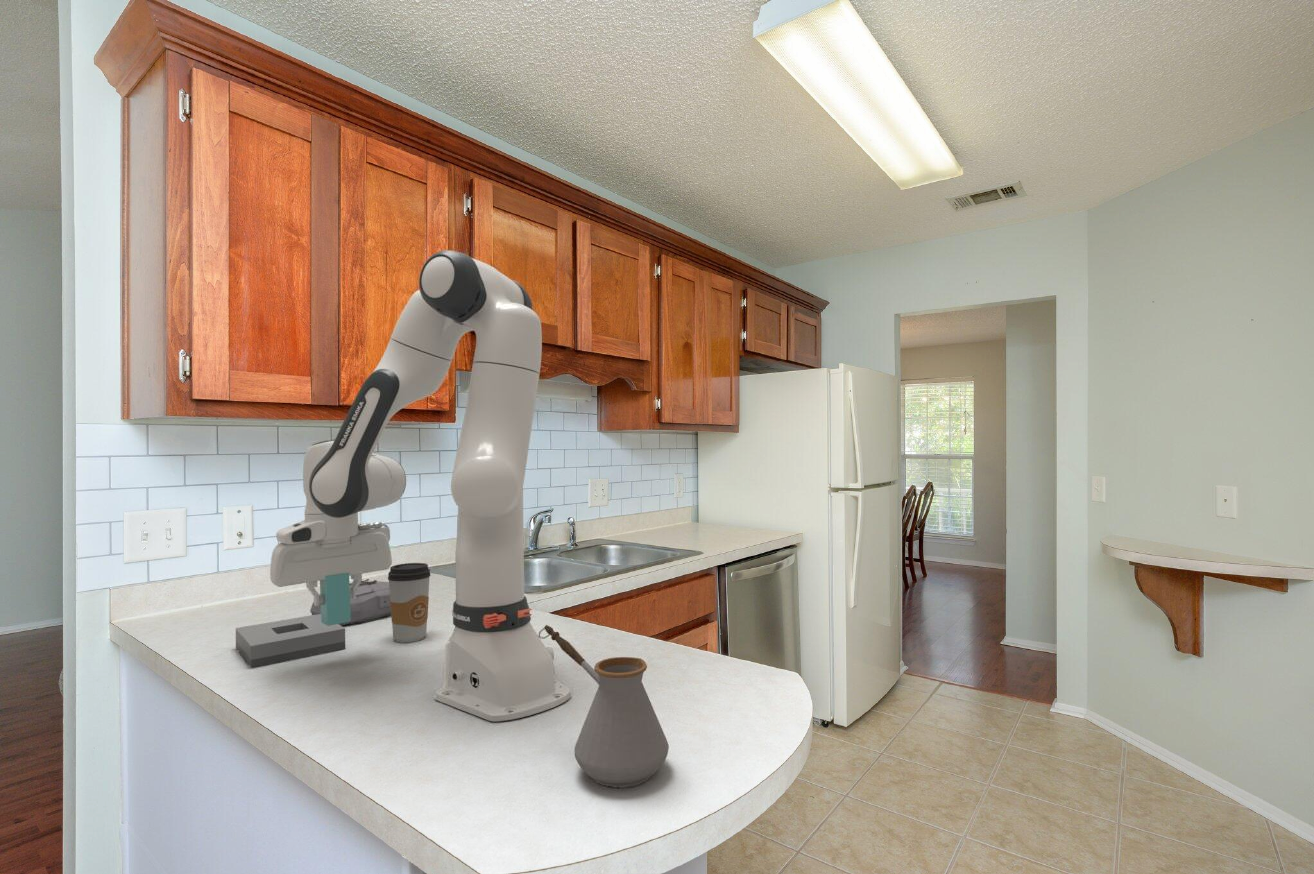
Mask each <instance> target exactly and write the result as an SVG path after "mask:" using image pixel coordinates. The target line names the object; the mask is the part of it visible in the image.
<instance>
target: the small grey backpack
mask: <svg viewBox="0 0 1314 874" xmlns="http://www.w3.org/2000/svg"><path fill="white" fill-rule="evenodd" d="M349 583H350V587H351V585H352V583H353V582H349ZM350 607H351V621H350V622H345V623H340V624H339V625H341V626H348V625H355V624H362V623H366V622H370V621H374V620H378V619H382V618H385V617H388V616H391V607H390V588H389V581H378V580H376V579H374V580H372V581H371V580H370V578H369V579H368V578H367V579H366V580H365V579H364V580H362V581H361V583H360V584H359V586H358V588H357V589H356V599H352V600H350ZM309 611H310V613H311V615H316V614H321V605H320V606H315V605H314V601H313V602H312V605H311V607H310V609H309Z"/></svg>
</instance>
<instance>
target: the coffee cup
mask: <svg viewBox="0 0 1314 874" xmlns="http://www.w3.org/2000/svg"><path fill="white" fill-rule="evenodd" d="M430 571H431V569H429V565H428V563H424V562H407V563H399V564H396V565H391V566H390V567H389V572H388V577H387V580H388V582H389V588H390V607H391V615H390V616H391V625H392V636H393V639H394V641H395V642H397V643H402V644H405V643H408V644H409V643H414V642H415V643H416V642H419V641H421V640H424V639H425V636H426V635H427V629H428V627H427V626H428V616H429V602H430V599H429V598H430V597H429V596H430V595H429V593H430V578H431V572H430Z"/></svg>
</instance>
